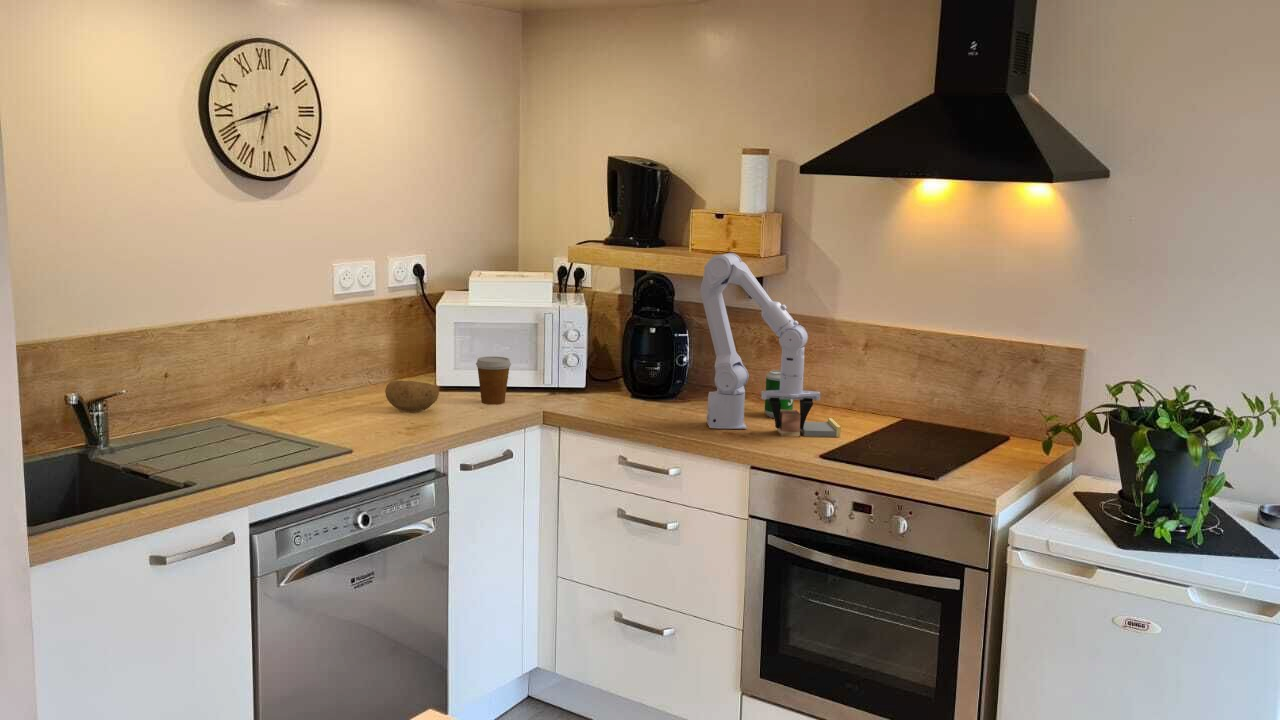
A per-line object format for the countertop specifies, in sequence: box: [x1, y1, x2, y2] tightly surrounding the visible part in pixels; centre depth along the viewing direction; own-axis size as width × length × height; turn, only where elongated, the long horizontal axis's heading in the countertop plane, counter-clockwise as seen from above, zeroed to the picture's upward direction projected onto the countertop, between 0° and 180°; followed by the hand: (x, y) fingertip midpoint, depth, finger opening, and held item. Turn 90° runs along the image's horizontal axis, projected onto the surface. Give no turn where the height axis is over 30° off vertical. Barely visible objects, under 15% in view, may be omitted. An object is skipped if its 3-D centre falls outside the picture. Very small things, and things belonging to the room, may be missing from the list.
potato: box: [384, 380, 440, 413], centre depth 293 cm, size 10×14×8 cm
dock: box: [800, 417, 842, 438], centre depth 285 cm, size 9×10×3 cm
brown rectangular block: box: [776, 409, 801, 437], centre depth 282 cm, size 4×6×6 cm
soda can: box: [764, 369, 794, 419], centre depth 301 cm, size 8×8×12 cm
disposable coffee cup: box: [475, 356, 512, 405], centre depth 306 cm, size 10×10×12 cm
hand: (789, 427), depth 282 cm, fingers open, 5 cm apart
